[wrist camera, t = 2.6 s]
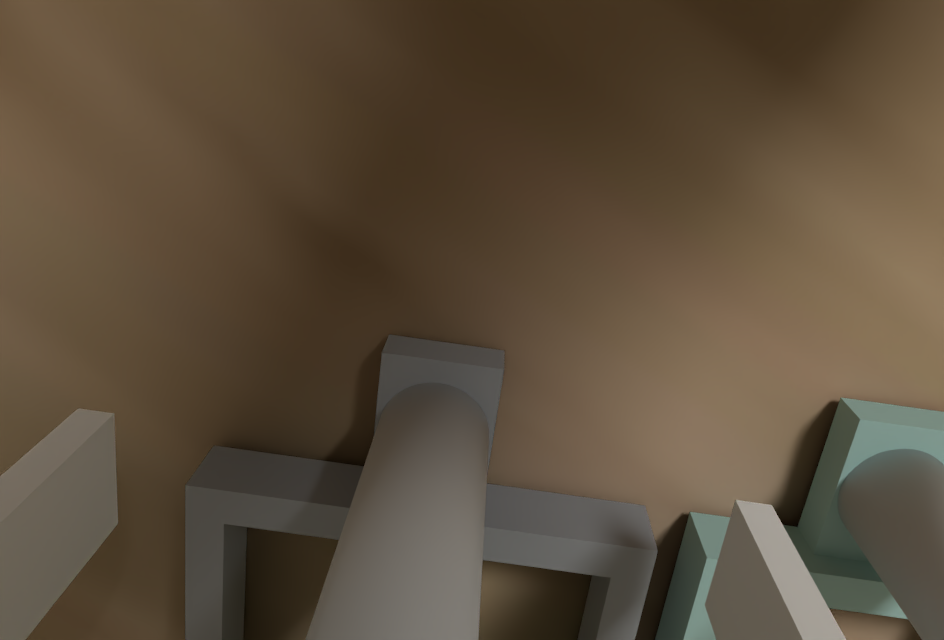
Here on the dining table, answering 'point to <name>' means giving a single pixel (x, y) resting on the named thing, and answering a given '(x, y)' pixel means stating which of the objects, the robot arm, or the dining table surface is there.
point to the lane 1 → (410, 517)
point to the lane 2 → (848, 525)
